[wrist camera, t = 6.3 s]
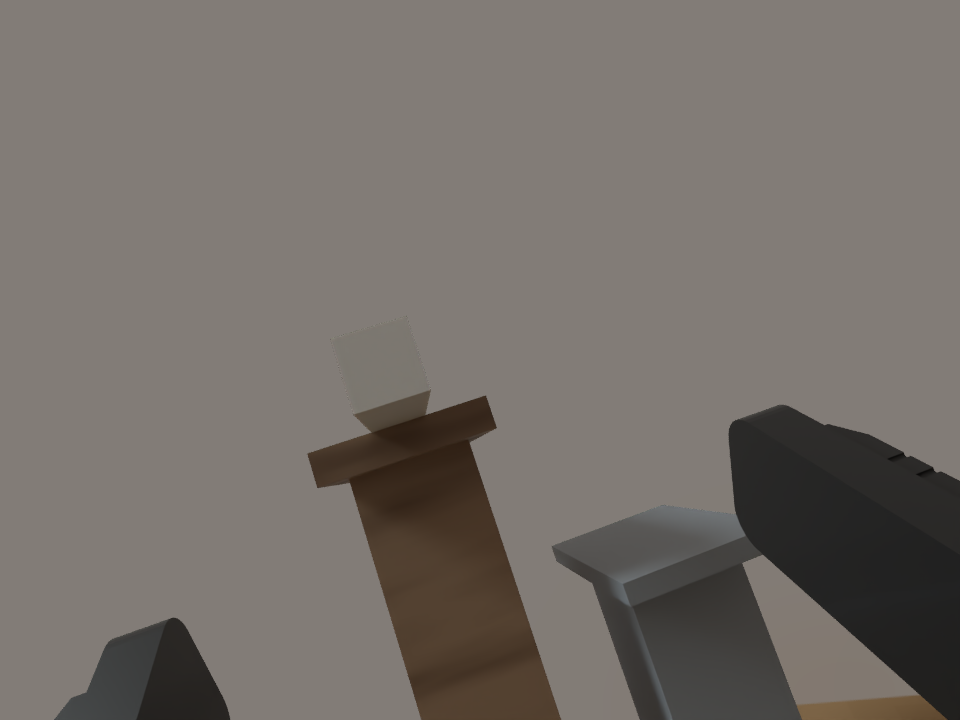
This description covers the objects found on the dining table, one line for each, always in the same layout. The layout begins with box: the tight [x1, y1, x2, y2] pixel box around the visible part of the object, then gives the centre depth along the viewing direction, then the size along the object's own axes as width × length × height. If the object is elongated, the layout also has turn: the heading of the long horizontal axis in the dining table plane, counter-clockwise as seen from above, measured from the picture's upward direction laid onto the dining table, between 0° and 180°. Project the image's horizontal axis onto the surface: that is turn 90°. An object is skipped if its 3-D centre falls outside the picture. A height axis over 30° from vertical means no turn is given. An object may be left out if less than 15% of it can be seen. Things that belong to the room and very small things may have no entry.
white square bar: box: [330, 316, 431, 432], centre depth 30 cm, size 22×3×3 cm, turn 6°
